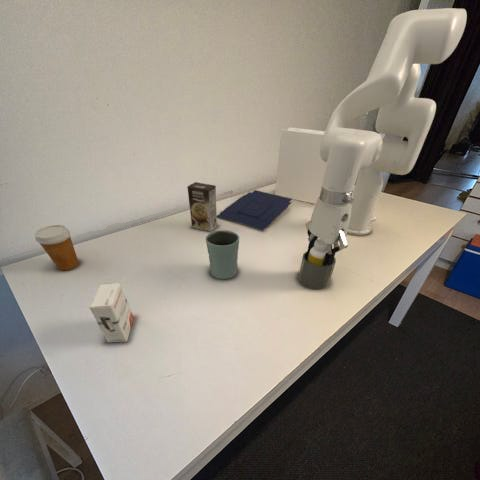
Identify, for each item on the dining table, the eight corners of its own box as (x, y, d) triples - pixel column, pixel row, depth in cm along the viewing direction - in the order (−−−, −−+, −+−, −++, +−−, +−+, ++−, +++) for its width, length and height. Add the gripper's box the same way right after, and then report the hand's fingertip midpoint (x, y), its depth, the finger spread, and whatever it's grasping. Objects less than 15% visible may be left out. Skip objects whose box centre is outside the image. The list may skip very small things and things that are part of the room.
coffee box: (191, 228, 108) (186, 186, 97) (198, 221, 113) (194, 181, 101) (211, 232, 106) (208, 189, 95) (217, 225, 110) (215, 184, 99)
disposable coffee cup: (90, 260, 90) (75, 227, 81) (68, 275, 83) (50, 240, 75) (68, 255, 92) (51, 222, 83) (45, 269, 85) (25, 235, 77)
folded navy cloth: (295, 205, 124) (296, 198, 121) (263, 236, 108) (263, 229, 106) (251, 194, 133) (251, 187, 130) (216, 222, 118) (215, 214, 115)
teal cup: (215, 283, 81) (213, 248, 73) (203, 267, 88) (200, 233, 79) (244, 275, 85) (245, 241, 76) (230, 260, 91) (230, 227, 83)
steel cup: (314, 268, 88) (320, 247, 82) (335, 283, 82) (342, 261, 77) (292, 276, 85) (296, 254, 79) (311, 292, 79) (317, 270, 73)
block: (274, 194, 138) (281, 129, 118) (281, 190, 143) (289, 127, 123) (340, 209, 124) (360, 139, 105) (345, 204, 129) (365, 136, 110)
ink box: (115, 318, 70) (99, 282, 61) (134, 317, 70) (121, 281, 62) (106, 343, 63) (87, 307, 55) (127, 342, 64) (111, 306, 56)
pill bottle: (325, 282, 79) (334, 249, 72) (304, 279, 80) (312, 246, 73) (324, 270, 84) (333, 238, 76) (305, 268, 85) (312, 236, 77)
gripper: (373, 204, 61) (349, 269, 74) (322, 183, 72) (309, 243, 85) (350, 210, 59) (330, 276, 71) (301, 187, 69) (291, 248, 82)
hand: (319, 258), depth 78 cm, fingers closed on pill bottle, 6 cm apart
